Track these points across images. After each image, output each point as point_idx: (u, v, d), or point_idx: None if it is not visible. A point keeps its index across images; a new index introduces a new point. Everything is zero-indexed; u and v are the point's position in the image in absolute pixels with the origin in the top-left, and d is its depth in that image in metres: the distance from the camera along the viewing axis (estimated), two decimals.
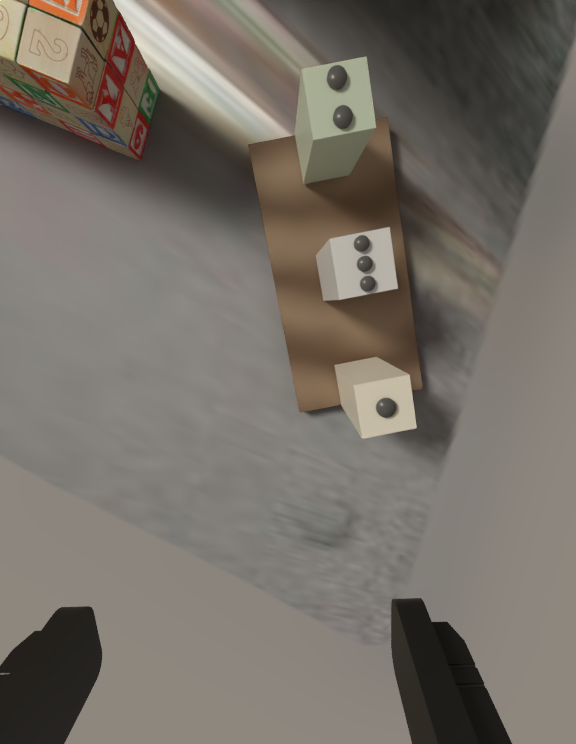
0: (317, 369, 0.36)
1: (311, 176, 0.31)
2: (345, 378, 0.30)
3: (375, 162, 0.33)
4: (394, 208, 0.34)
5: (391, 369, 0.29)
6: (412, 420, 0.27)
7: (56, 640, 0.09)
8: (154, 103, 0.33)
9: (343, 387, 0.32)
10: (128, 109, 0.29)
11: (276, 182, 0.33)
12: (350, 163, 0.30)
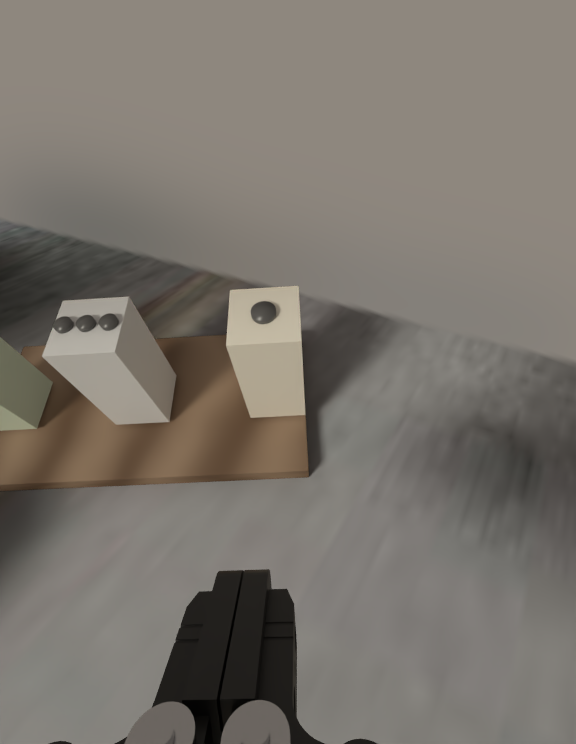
0: (253, 439, 0.27)
1: (24, 412, 0.27)
2: (239, 377, 0.23)
3: None
4: None
5: None
6: (287, 289, 0.22)
7: (231, 597, 0.10)
8: None
9: (263, 392, 0.25)
10: None
11: (21, 459, 0.27)
12: (27, 367, 0.28)
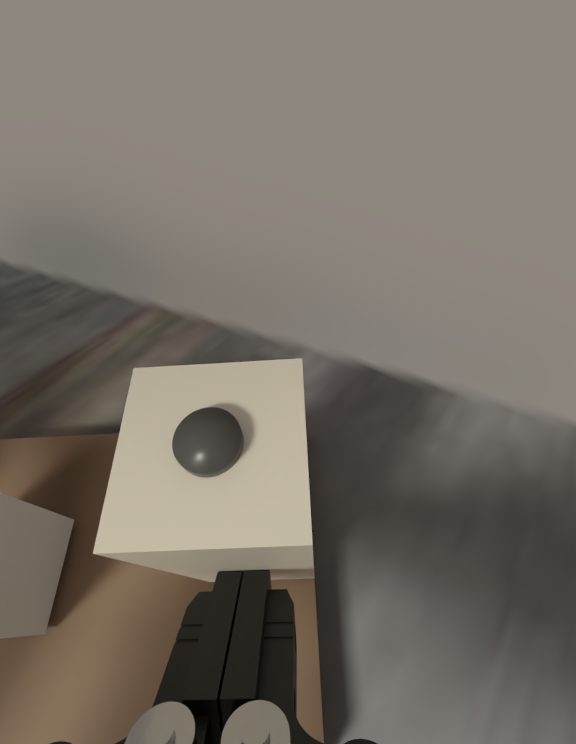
0: None
1: None
2: (164, 568, 0.10)
3: None
4: None
5: None
6: (275, 368, 0.09)
7: (231, 597, 0.10)
8: None
9: None
10: None
11: None
12: None
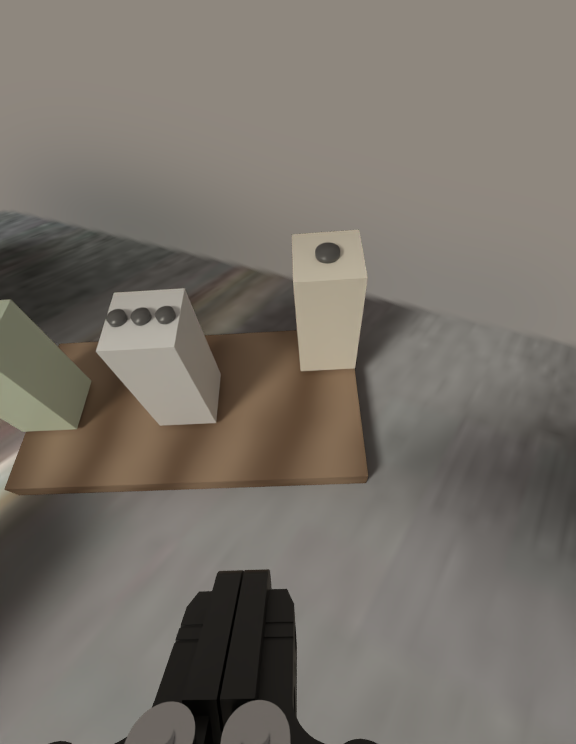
0: (306, 442, 0.26)
1: (65, 411, 0.26)
2: (299, 321, 0.23)
3: (93, 356, 0.31)
4: None
5: None
6: (348, 233, 0.22)
7: (232, 597, 0.10)
8: None
9: (318, 340, 0.25)
10: None
11: (61, 461, 0.26)
12: (68, 364, 0.26)
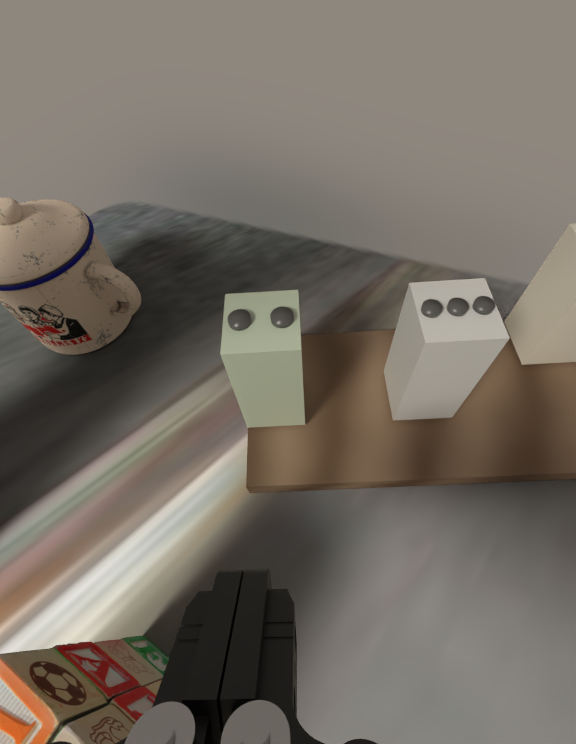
0: (551, 437, 0.25)
1: None
2: (568, 313, 0.23)
3: None
4: (342, 336, 0.30)
5: (548, 264, 0.24)
6: None
7: (231, 597, 0.10)
8: (158, 650, 0.21)
9: (569, 332, 0.25)
10: None
11: (297, 457, 0.25)
12: None
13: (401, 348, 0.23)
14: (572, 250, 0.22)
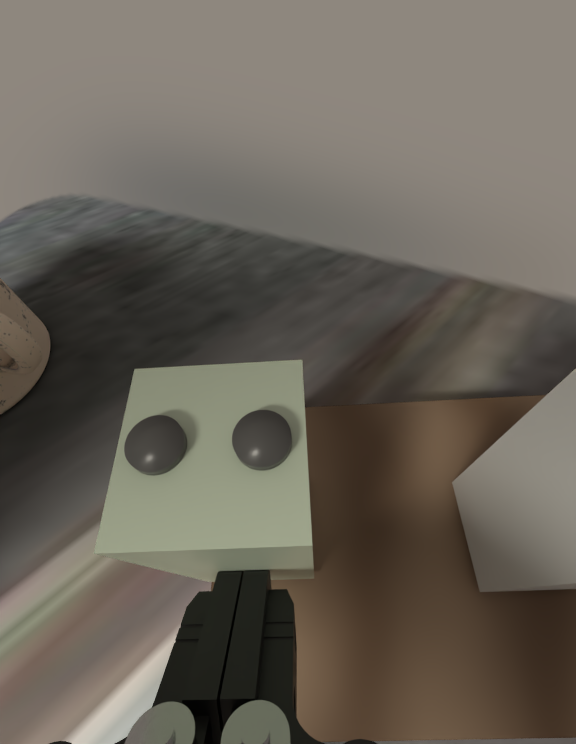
0: None
1: None
2: None
3: None
4: (374, 411, 0.18)
5: None
6: None
7: (231, 597, 0.10)
8: None
9: None
10: None
11: (300, 672, 0.13)
12: None
13: (523, 489, 0.11)
14: None
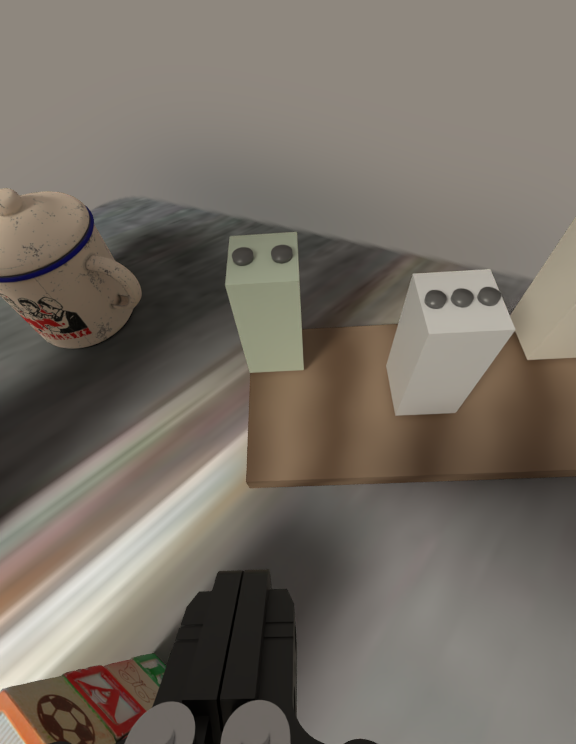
0: (557, 433, 0.25)
1: None
2: (575, 306, 0.22)
3: None
4: (344, 331, 0.30)
5: (555, 256, 0.24)
6: None
7: (231, 597, 0.10)
8: None
9: None
10: None
11: (298, 452, 0.25)
12: None
13: (404, 341, 0.22)
14: None
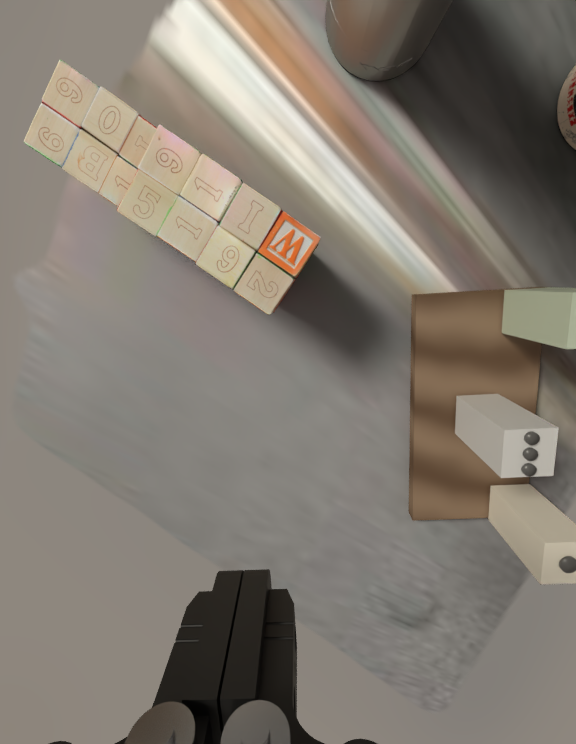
0: (436, 487, 0.40)
1: None
2: (521, 520, 0.34)
3: None
4: (535, 364, 0.37)
5: (566, 521, 0.33)
6: None
7: (231, 596, 0.10)
8: None
9: (508, 518, 0.37)
10: None
11: (434, 329, 0.37)
12: None
13: (509, 412, 0.32)
14: (570, 536, 0.32)
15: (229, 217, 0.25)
